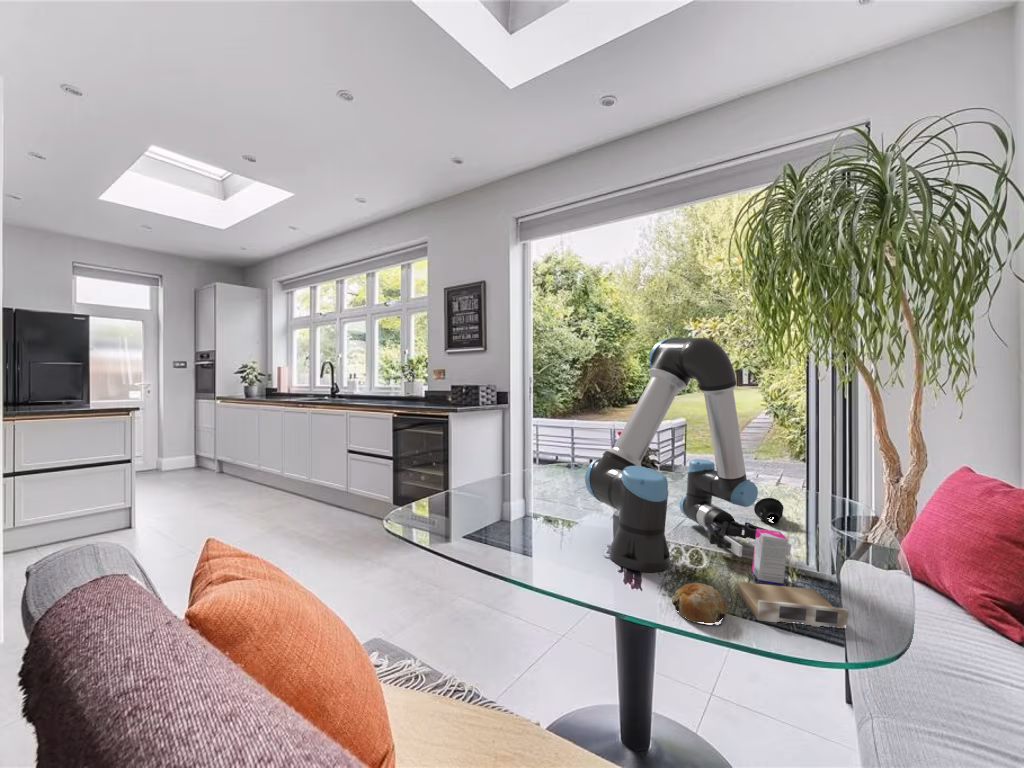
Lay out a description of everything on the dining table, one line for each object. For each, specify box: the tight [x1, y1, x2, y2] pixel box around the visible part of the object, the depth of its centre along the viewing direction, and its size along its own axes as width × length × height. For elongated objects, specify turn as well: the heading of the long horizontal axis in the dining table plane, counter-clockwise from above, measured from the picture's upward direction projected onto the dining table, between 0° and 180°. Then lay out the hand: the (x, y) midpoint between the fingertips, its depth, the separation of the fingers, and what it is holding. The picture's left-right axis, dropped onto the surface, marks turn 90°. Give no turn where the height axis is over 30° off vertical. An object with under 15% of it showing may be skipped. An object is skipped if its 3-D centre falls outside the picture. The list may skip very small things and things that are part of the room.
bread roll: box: [671, 582, 727, 623], centre depth 100 cm, size 10×10×8 cm
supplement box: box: [751, 529, 789, 586], centre depth 118 cm, size 6×6×12 cm
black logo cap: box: [753, 497, 784, 525], centre depth 165 cm, size 9×11×18 cm
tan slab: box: [735, 581, 849, 628], centre depth 104 cm, size 17×13×4 cm
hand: (765, 550), depth 121 cm, fingers open, 13 cm apart
